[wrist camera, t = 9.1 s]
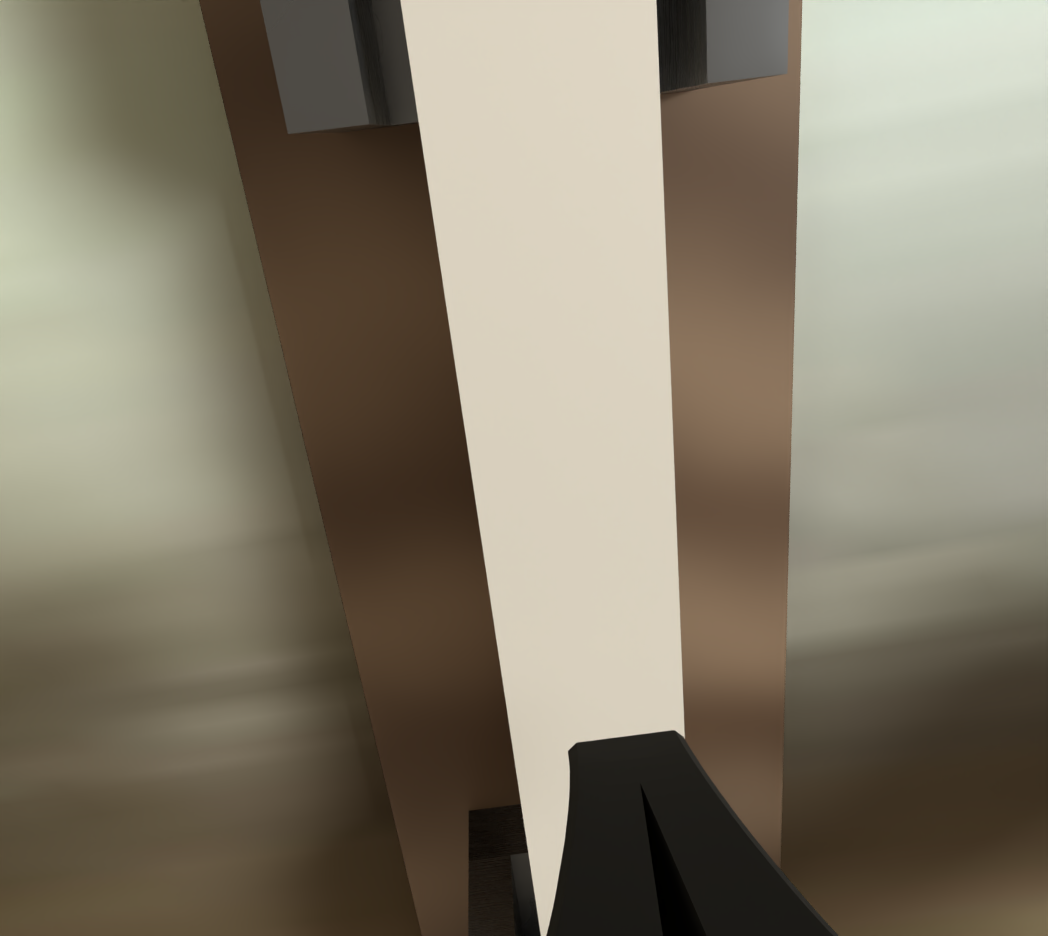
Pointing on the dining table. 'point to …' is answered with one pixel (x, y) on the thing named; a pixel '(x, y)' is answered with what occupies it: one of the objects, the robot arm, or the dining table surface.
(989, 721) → the dining table surface
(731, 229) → the frame board
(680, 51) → the end caps
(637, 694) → the slat
